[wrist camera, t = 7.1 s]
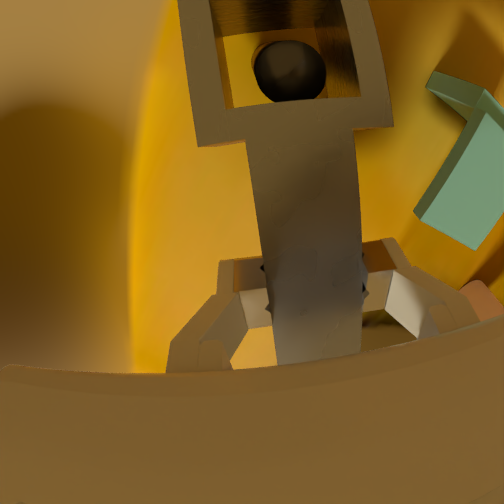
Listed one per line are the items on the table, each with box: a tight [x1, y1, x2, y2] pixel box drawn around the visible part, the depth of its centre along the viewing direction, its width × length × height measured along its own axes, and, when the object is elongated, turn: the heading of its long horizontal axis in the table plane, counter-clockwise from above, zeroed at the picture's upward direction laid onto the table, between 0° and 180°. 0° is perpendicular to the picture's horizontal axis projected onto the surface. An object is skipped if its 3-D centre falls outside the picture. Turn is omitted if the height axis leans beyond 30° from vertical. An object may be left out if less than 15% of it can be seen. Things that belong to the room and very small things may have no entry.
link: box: [178, 0, 394, 365], centre depth 10 cm, size 15×6×4 cm, turn 9°
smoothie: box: [458, 280, 504, 322], centre depth 19 cm, size 6×6×14 cm
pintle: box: [251, 41, 327, 103], centre depth 11 cm, size 2×2×6 cm
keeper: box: [413, 71, 504, 251], centre depth 13 cm, size 5×7×5 cm
